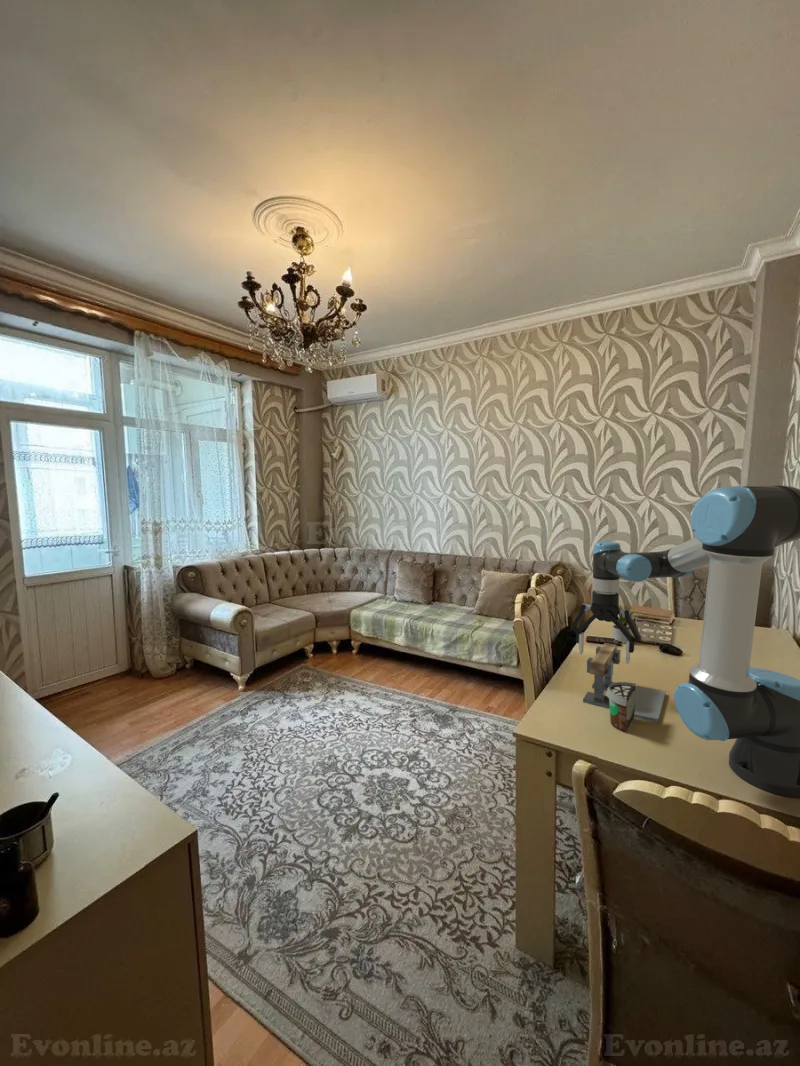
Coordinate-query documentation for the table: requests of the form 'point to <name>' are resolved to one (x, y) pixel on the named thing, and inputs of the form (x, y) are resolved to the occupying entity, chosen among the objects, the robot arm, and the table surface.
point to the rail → (603, 659)
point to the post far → (616, 661)
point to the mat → (648, 703)
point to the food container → (622, 704)
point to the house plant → (617, 633)
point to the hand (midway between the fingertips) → (603, 657)
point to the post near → (599, 688)
